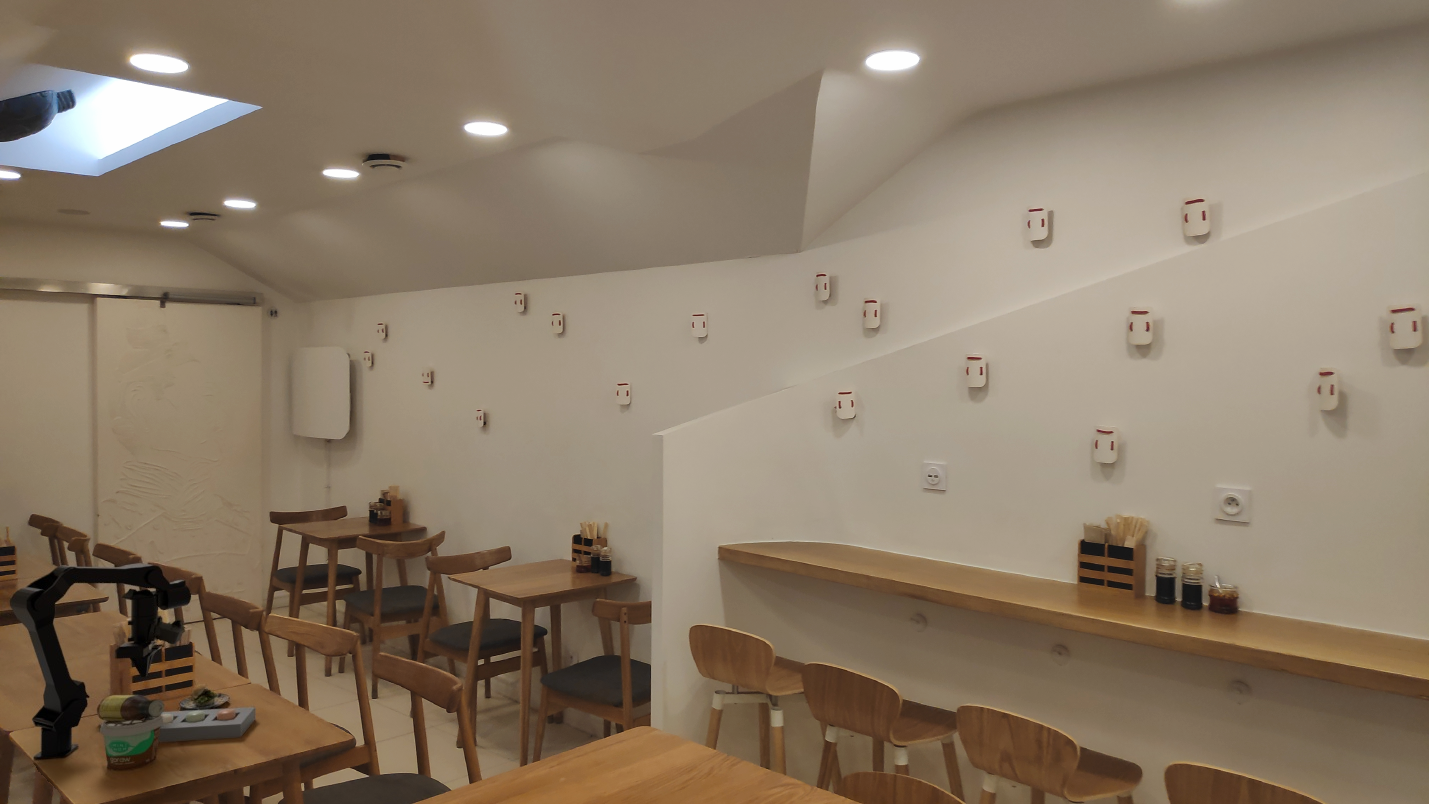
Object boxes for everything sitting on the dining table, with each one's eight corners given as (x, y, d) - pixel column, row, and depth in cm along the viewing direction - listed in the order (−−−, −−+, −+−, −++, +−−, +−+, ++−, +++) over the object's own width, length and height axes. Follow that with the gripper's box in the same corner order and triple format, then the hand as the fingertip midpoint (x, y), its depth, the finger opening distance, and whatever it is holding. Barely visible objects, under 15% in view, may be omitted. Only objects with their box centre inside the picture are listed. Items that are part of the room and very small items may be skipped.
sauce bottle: (125, 707, 229) (175, 709, 221) (103, 726, 224) (155, 729, 216) (110, 688, 226) (161, 690, 218) (89, 707, 221) (140, 709, 213)
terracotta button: (232, 726, 218) (232, 714, 218) (214, 727, 218) (214, 715, 217) (237, 720, 222) (237, 708, 222) (220, 721, 221) (220, 709, 221)
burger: (208, 716, 229) (208, 687, 229) (167, 713, 231) (167, 684, 231) (240, 700, 241) (240, 673, 241) (201, 698, 243) (201, 670, 243)
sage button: (201, 728, 217) (201, 715, 217) (183, 729, 216) (183, 716, 216) (206, 722, 221) (207, 710, 221) (189, 723, 220) (189, 711, 220)
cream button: (169, 731, 215) (169, 719, 215) (151, 732, 215) (151, 720, 215) (175, 725, 219) (175, 713, 219) (157, 726, 219) (157, 714, 219)
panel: (240, 737, 215) (240, 723, 215) (129, 743, 210) (130, 730, 210) (255, 719, 227) (255, 706, 227) (150, 725, 222) (151, 712, 222)
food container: (89, 775, 193) (90, 729, 193) (101, 763, 199) (101, 719, 199) (154, 769, 196) (154, 724, 196) (163, 758, 202) (163, 714, 202)
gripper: (165, 622, 215) (165, 686, 215) (193, 604, 233) (193, 663, 233) (114, 624, 212) (113, 689, 213) (146, 606, 231) (146, 666, 231)
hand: (144, 676), depth 222 cm, fingers closed
